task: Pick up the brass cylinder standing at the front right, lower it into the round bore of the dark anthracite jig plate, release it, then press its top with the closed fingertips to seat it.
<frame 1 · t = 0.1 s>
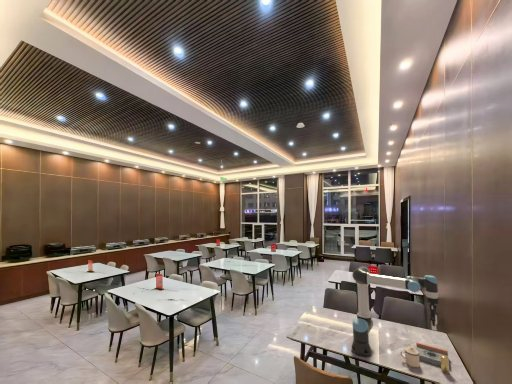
hand: (434, 326, 173), 28 cm above the table, fingers open, 13 cm apart
jig: (432, 359, 179), on the table
brass cylinder: (445, 371, 164), on the table
teacup with lid: (410, 363, 174), on the table
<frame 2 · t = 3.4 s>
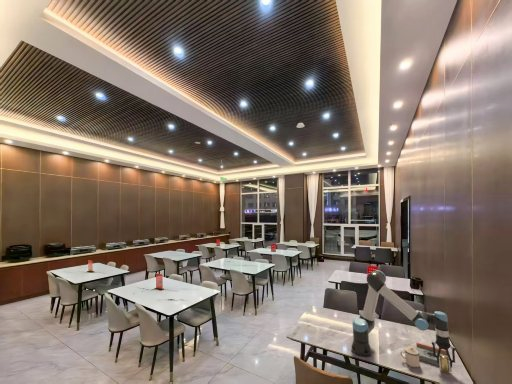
hand: (445, 369, 164), 1 cm above the table, fingers closed on brass cylinder, 5 cm apart
brass cylinder: (445, 371, 164), on the table, touching gripper
everything else where it was.
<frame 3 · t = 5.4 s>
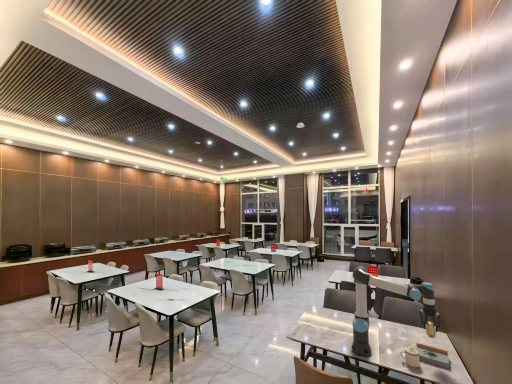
hand: (431, 334, 179), 19 cm above the table, fingers closed on brass cylinder, 5 cm apart
brass cylinder: (431, 336, 179), point 17 cm above the table, touching gripper
everything else where it was.
when the fingers open (5 cm above the table, at t = 7.9 s): brass cylinder drops 4 cm, resting in jig.
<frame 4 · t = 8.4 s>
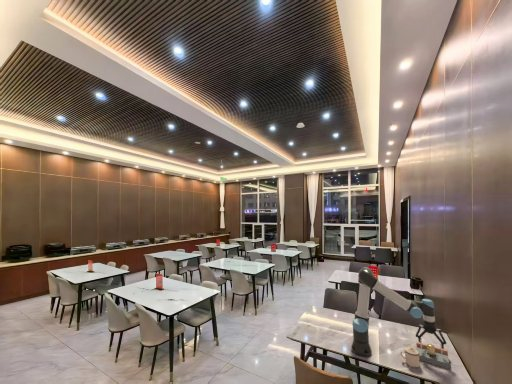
hand: (431, 349, 179), 7 cm above the table, fingers open, 12 cm apart
brass cylinder: (431, 359, 179), resting in jig
everything else where it was.
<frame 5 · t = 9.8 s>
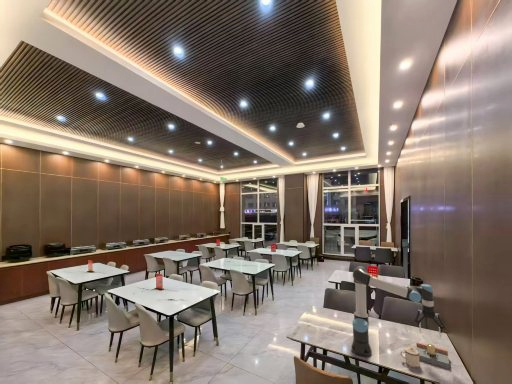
hand: (430, 334, 181), 18 cm above the table, fingers open, 12 cm apart
nothing on the table moved.
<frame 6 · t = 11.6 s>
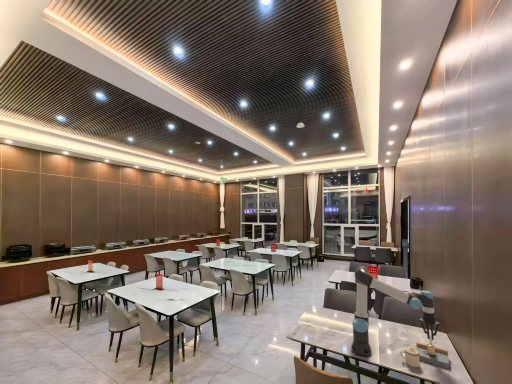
hand: (431, 343, 180), 11 cm above the table, fingers closed
nothing on the table moved.
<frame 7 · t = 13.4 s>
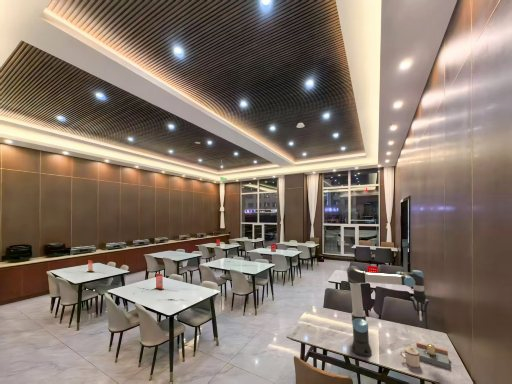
hand: (420, 320, 188), 26 cm above the table, fingers closed
nothing on the table moved.
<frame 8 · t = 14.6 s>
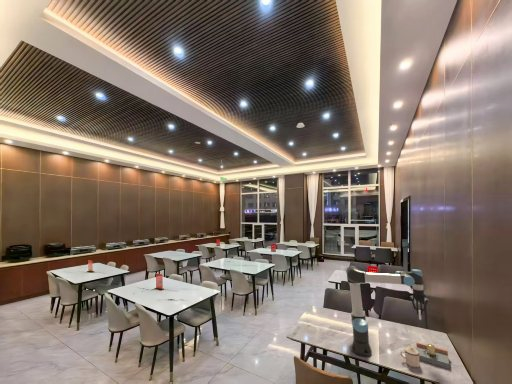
hand: (420, 319, 189), 26 cm above the table, fingers closed
nothing on the table moved.
at the end: brass cylinder 0.1 cm off-centre in the jig, point 0.0 cm above the jig's base; brass cylinder tilted 0°; the gripper is holding nothing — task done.
